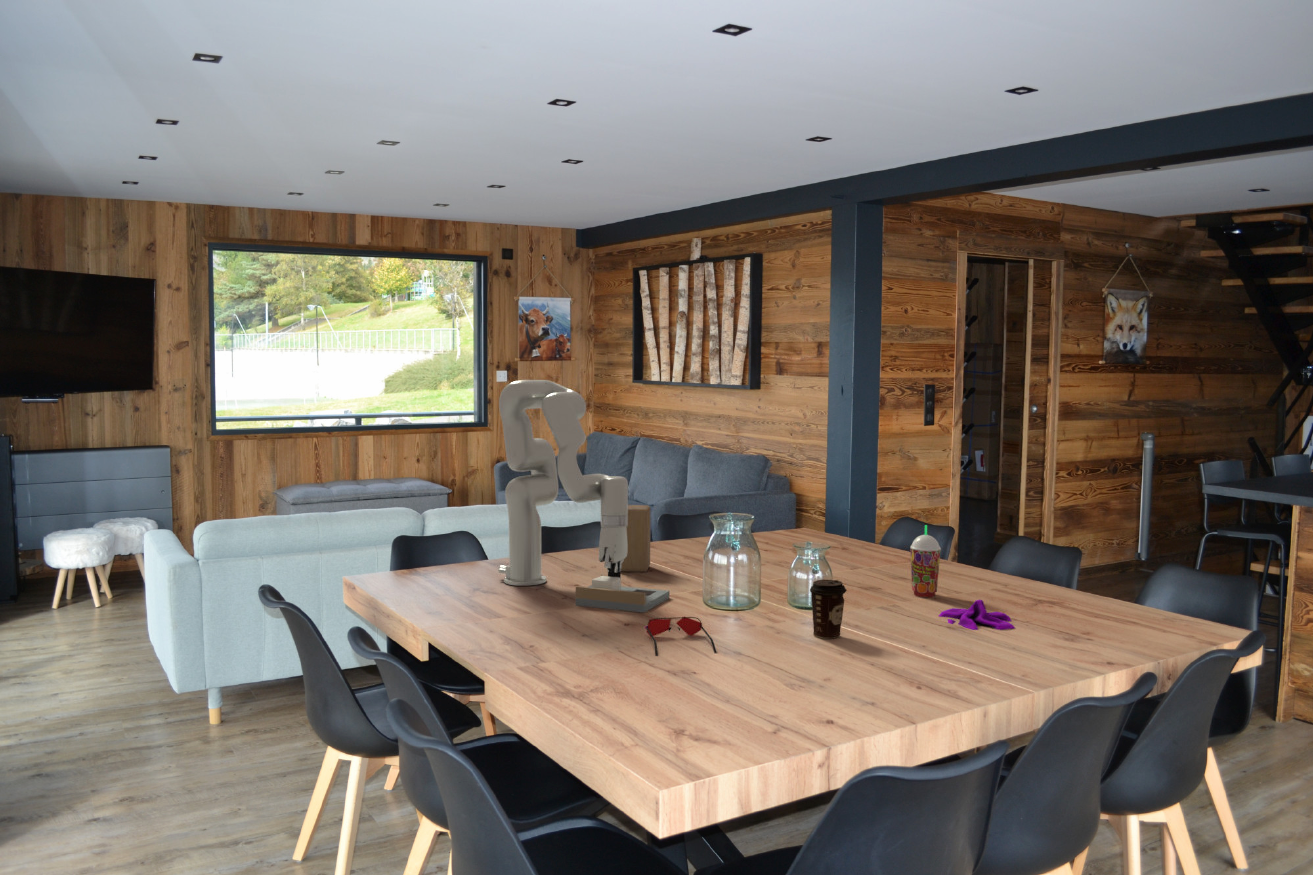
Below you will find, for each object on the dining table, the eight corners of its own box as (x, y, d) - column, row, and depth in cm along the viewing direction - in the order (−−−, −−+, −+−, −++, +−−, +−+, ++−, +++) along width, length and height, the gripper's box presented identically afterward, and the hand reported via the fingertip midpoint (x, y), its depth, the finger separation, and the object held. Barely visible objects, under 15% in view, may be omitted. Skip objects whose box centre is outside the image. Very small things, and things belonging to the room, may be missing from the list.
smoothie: (907, 596, 276) (908, 526, 275) (911, 590, 284) (912, 522, 282) (937, 599, 273) (939, 528, 271) (941, 593, 281) (942, 523, 279)
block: (650, 566, 317) (650, 504, 315) (647, 572, 307) (647, 509, 305) (619, 565, 318) (619, 504, 316) (615, 572, 308) (615, 508, 306)
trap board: (575, 605, 264) (575, 586, 264) (604, 591, 281) (604, 574, 281) (644, 612, 257) (644, 593, 256) (669, 597, 273) (669, 580, 273)
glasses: (701, 635, 237) (701, 614, 236) (717, 655, 220) (717, 633, 220) (644, 637, 234) (644, 616, 234) (655, 657, 218) (655, 635, 218)
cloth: (935, 611, 262) (935, 588, 261) (1008, 615, 258) (1009, 592, 258) (941, 633, 240) (942, 608, 240) (1022, 638, 236) (1022, 612, 236)
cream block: (591, 594, 268) (591, 579, 268) (601, 589, 274) (601, 575, 274) (611, 596, 266) (611, 581, 266) (621, 591, 272) (621, 577, 271)
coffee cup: (848, 633, 238) (849, 580, 237) (843, 641, 230) (844, 587, 229) (812, 629, 241) (813, 577, 240) (806, 638, 233) (807, 584, 232)
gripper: (613, 516, 282) (613, 579, 283) (590, 523, 268) (590, 590, 269) (637, 517, 279) (637, 581, 280) (615, 525, 265) (615, 592, 266)
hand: (614, 585), depth 275 cm, fingers closed
